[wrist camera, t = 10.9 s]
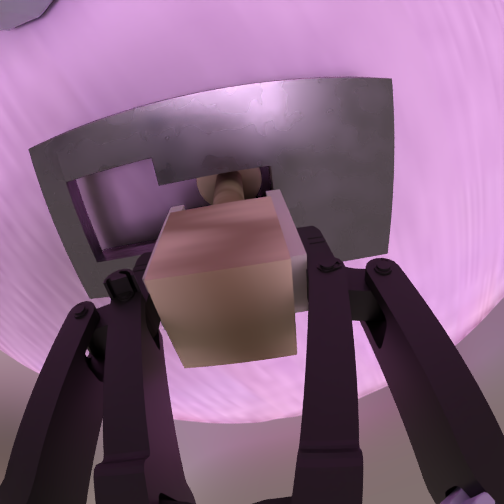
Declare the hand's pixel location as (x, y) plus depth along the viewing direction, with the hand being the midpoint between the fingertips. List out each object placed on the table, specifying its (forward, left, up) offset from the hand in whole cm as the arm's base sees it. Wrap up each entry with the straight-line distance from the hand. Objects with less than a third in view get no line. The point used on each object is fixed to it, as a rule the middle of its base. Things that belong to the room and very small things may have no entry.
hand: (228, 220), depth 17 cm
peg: (0, 0, -9) cm, 9 cm away
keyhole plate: (-1, 0, -10) cm, 10 cm away
